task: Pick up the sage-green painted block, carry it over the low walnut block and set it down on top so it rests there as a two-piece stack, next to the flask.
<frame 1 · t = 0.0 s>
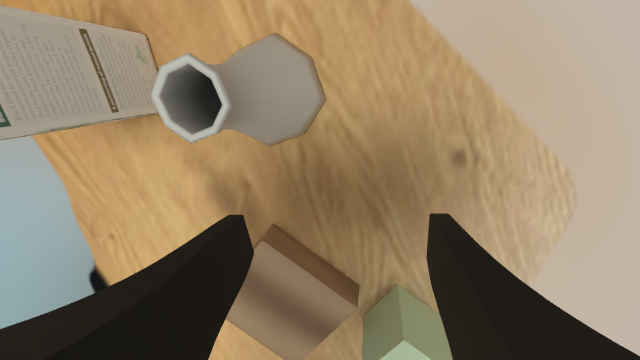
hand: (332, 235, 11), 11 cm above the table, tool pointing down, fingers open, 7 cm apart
green block: (401, 315, 24), on the table
walnut base: (290, 284, 26), on the table
syrup box: (131, 81, 22), on the table
flask: (274, 92, 20), on the table
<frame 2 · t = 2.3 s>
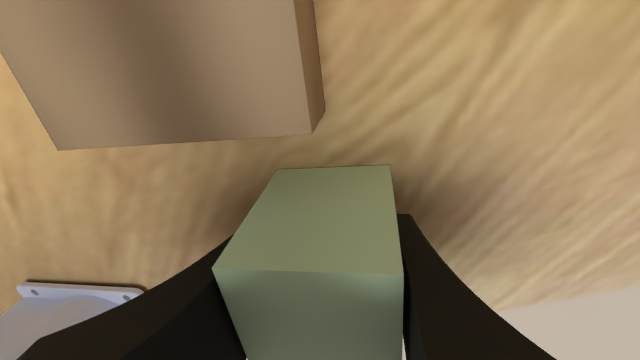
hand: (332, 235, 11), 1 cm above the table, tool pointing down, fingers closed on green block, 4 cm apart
green block: (336, 214, 12), on the table, touching gripper
when the fingers open (5 cm above the table, at t = 5.0 s): green block stays where it is, resting on walnut base.
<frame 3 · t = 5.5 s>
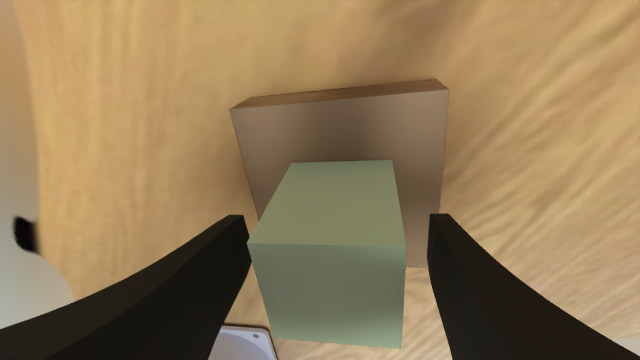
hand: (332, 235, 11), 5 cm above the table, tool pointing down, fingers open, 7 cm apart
green block: (343, 203, 14), point 2 cm above the table, touching walnut base
walnut base: (345, 168, 16), on the table, touching green block
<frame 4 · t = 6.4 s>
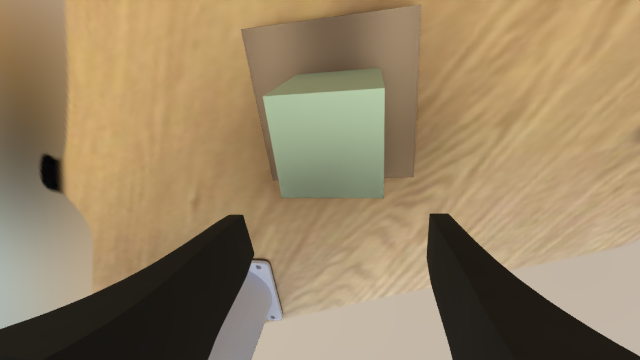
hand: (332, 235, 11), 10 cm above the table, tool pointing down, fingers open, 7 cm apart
green block: (340, 113, 16), point 2 cm above the table, touching walnut base
walnut base: (339, 97, 19), on the table, touching green block
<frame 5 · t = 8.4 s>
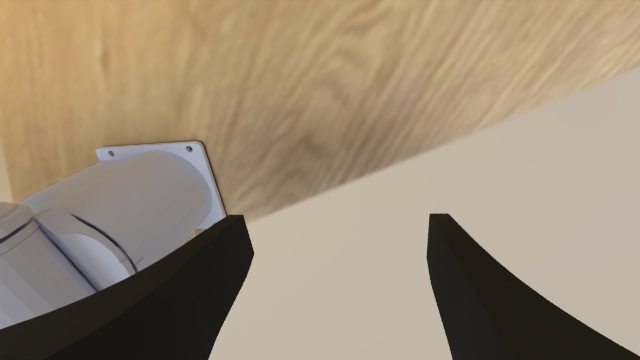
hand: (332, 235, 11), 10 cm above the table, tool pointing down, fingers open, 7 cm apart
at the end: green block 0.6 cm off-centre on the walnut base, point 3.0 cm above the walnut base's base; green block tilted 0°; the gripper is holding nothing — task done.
